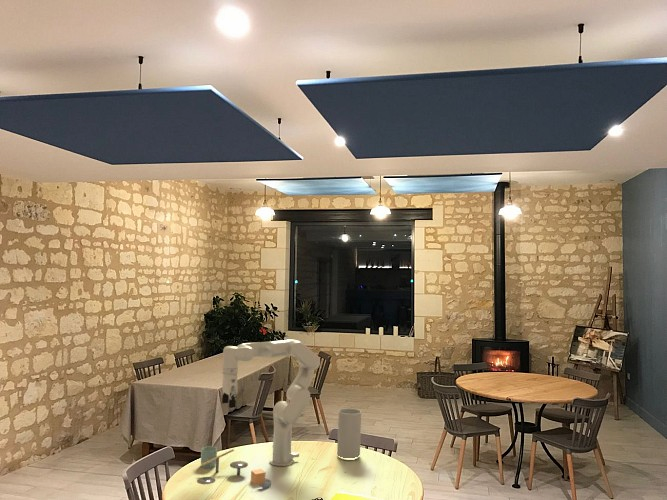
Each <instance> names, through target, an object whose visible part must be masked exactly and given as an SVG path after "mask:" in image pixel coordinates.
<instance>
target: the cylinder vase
mask: <svg viewBox="0 0 667 500" xmlns="http://www.w3.org/2000/svg"><path fill="white" fill-rule="evenodd" d="M337 419H338V422H337V444H336V445H337V452H336V456H337V455H338V456H340V457H343V458H355V457H358V456H359V455H360V456H361V438H362V437H361V433H362V430H361V429H362V425H361V424H362V411H361V410H360V409H357V408H351V407H346V408H345V407H344V408H340V409H338V418H337Z"/></svg>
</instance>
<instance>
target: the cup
mask: <svg viewBox="0 0 667 500" xmlns="http://www.w3.org/2000/svg"><path fill="white" fill-rule="evenodd" d="M217 456H218V448H217V446H212V445H207V446H204V447H202V448H201V450H200V465H201V464H202V463H205V462H207V461H209V460H211V459H213V458H215V457H217ZM201 468H203V469H211V468H216V460H214V461H211V462H209V463H207V464H205V465H203V466H201Z"/></svg>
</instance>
